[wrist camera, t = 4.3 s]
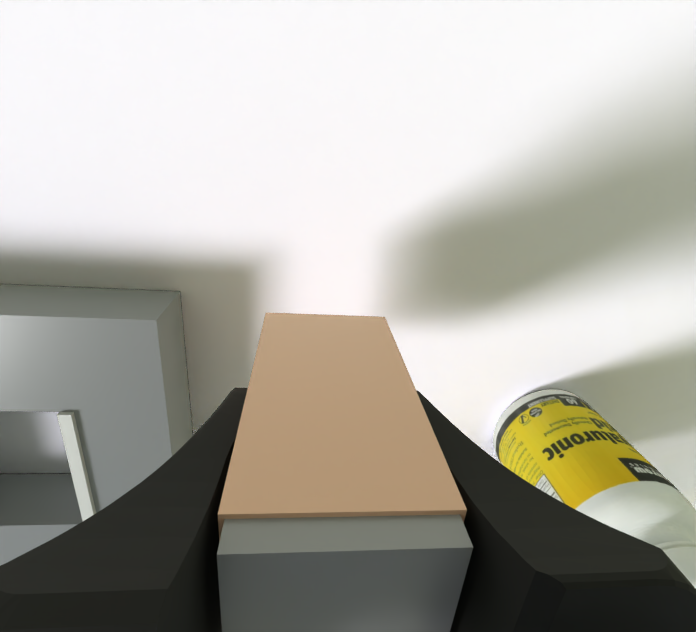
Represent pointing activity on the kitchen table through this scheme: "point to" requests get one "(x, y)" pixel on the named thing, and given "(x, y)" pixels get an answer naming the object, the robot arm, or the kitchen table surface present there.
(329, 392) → the plug
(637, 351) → the kitchen table surface
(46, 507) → the socket block
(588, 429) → the supplement bottle
